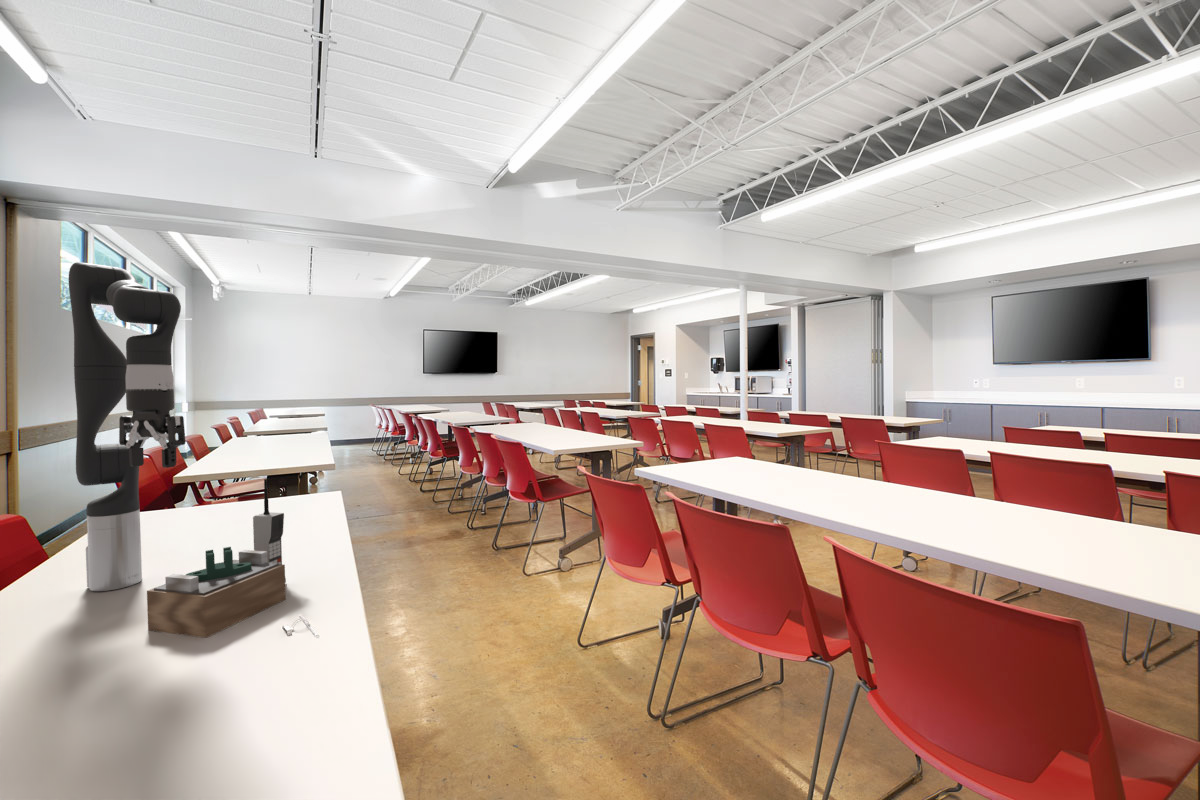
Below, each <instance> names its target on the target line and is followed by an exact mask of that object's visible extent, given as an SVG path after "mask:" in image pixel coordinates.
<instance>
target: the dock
mask: <svg viewBox="0 0 1200 800" xmlns="http://www.w3.org/2000/svg"><path fill="white" fill-rule="evenodd" d="M246 562H250V563H251V566H252V569H251V570H250V571H247V572H243V573H240V574H236V575H233V576H228V577H222V578H217V579H212V580H206V581H198V576H189V575H186V574H175V573H173V574H169V575H167V576H165V583H164V584H162V585H158V586H155V587H154V588H151V589H148V590H146V603H147V604H146V605H147V607H146V608H147V609H146V610H147V631H150V632H159V633H167V634H175V635H182V636H183V635H184V636H192V637H199V638H209V637H211V636H213V635H216V634H217V633H219V632H221V631H223V630H225V629H228V628H230V627H231V626H234V625H236V624H238V623H240V622H242V621H244V620H246V619H248V618H250V617H252V616H254V615H257V614H259V613H261V612H263V611H265V610H266V609H268V608H271V607H272V606H274V605H277V604H279V603H281V602H283V601H285V600H287V598H286V583H285V578H286V567H285V566H286V565H285V564H283V563H282V564H279V563H269V562H268V561H267V551H254V549H253V550H252V549H251V550H250V549H243V550H240V551H238V559H233V564H236V563H246Z"/></svg>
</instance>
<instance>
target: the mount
mask: <svg viewBox="0 0 1200 800" xmlns="http://www.w3.org/2000/svg"><path fill="white" fill-rule="evenodd" d="M222 552H223V553H222V554H223V562H217V563H215V562H216V560H215V552H214V549H209V550H205V568H203V569H199V570H196V571H192V572H188V573H186V574H185V575H189V576H198V581H206V580H212V579H217V578H222V577H228V576H233V575H236V574H240V573H243V572H247V571H250V570H251V569H252V566H251V563H250V562H246V563H236V564H233V560H234V557H233V549H232V546H225V547H223V549H222Z"/></svg>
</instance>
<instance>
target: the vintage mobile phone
mask: <svg viewBox="0 0 1200 800" xmlns="http://www.w3.org/2000/svg"><path fill="white" fill-rule="evenodd" d="M263 481H264V482H263V485H264V487H263V488H264V489H263V490H264V492H263V493H264V499H263V506H264V507H263V509H264V511H263V512H262V513H259V514H256V515H254V516H253V517H252V527H253V529H252V531H253V550H254V551H267V561H268V562H269V563H279V564H282V565H283V555H282V554H283V553H282V536H283V534H284V524H285V523H284V521H285V520H284V519H285V513H284V512H270V511H269V498H268V479H267V478H264V479H263ZM286 583H287V578H286V577H285V584H286Z"/></svg>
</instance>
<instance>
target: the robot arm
mask: <svg viewBox="0 0 1200 800" xmlns="http://www.w3.org/2000/svg"><path fill="white" fill-rule="evenodd" d="M68 290H69V299H70V307H71V308H70V309H71V314H72V315H71V316H72V325H73V327H72V328H73V374H74V378H73V379H74V391H75V401H76V442H75V443H76V445H75V446H76V447H75V474H76V478H77V481H78V483H79V484H80V486H81V485H82V486H86V487H87V486H98V485H111V484H117V483H119V484H120V486H119V487H118V488H117V489H116V490H114V491H113V492H111V493H109V494H107V495H104V496H101V497H99V498H96V499H94V500H91V501H90V502H88V503H87V504H86V509H85V511H86V530H87V546H86V547H85V562H86V563H85V564H86V565H85V566H86V587H87V588H89V589H88V590H89V591H92V592H107V591H114V590H119V589H120V590H121V589H123V588H127V587H130V586H133V585H137V584H138V583H140V582H141V581H142V580H143V572H142V570H143V568H142V566H143V565H142V561H143V560H142V541H141V539H142V537H141V511H140V494H139V492H140V491H139V486H140V485H139V484H140V482H139V481H140V480H139V479H140V477H139V476H140V467H141V466H144V461H145V460H144V447H143V446H144V444H145V442H146V441H147V440H149V439H150V438H153V440H155V441H156V442H158V443H159V445H160V446H161V448H162V449H161V465H162V468H164V469H165V468H167V469H169V468H174V467H176V465H177V448H179V447H181V446H184V445H185V444H186V433H185V432H186V431H185V422H184V421H185V420H184V419H185V418H184V416H183V415H172V416H171V414H170V413H171V412H170V411H173V410H175V385H174V384H175V383H174V382H175V381H174V380H175V379H174V372H173V366H172V342H173V337H174V334H175V333H174V332H175V330H176V328H177V327H176V326H177V324H178V321H179V318H180V315H181V309H182V306H181V302H180V300H179V298H178V297H177V296H176V295H175V294H174V293H173V292H171V291H167V290H165V291H164V290H158V289H157V290H156V289H150V288H148V287H146V286H144V285H142V284H140V283H139V282H138V280H137V279H136V278H135V276H134V275H133V274H132V273H131V272H129V271H128V270H127V269H124V268H121V267H117V266H110V265H104V264H103V265H102V264H95V263H89V262H81V261H80V262H78V261H77V262H74V263H72V265H71V266H70V268H69V271H68ZM93 305H99V306H100V305H102V306H103V305H104V306H110V307H112V309H113V312H114V313H113V314H114V315H115V317H116V318H117V319H118V320H120V321H122V322H125V323H130V324H145V325H156V329H155V330H154V331H153V332H152V333H149V334H147V333H146V334H140V335H132V336H130V337H128V338H127V339H126V342H125V351H126V352H125V355H124V352H123V351H122V350H121V349H120V348H119V347H118V345H116V343H115V342H114V341H113V340H112V339H111V337H110V336H109V335H108V334H107V333H106V332H105V330H104V329H103V328H102V326H101V324H100V323H99V322H98V319H97V318H96V315H95V313H94V308H93ZM124 396H125V404H126V410H127V412H132V415H120V417H119V425H118V426H119V428H118V429H119V431H118V432H119V433H118V435H119V436H118V437H119V439H118V443H108V444H96V443H95V441H96V437H97V434H98V433H99V431H100V428H101V427H102V425H103V423H104V422H105V421H106V419H107V418H108V416H109V415H110V414H111V412H113V410H114V408H115V407H116V406H118V404H119V403H120V401H121V400H122V399H123V398H124ZM127 434H128V438H127ZM176 434H177V437H178V438H177V439H176Z"/></svg>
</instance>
